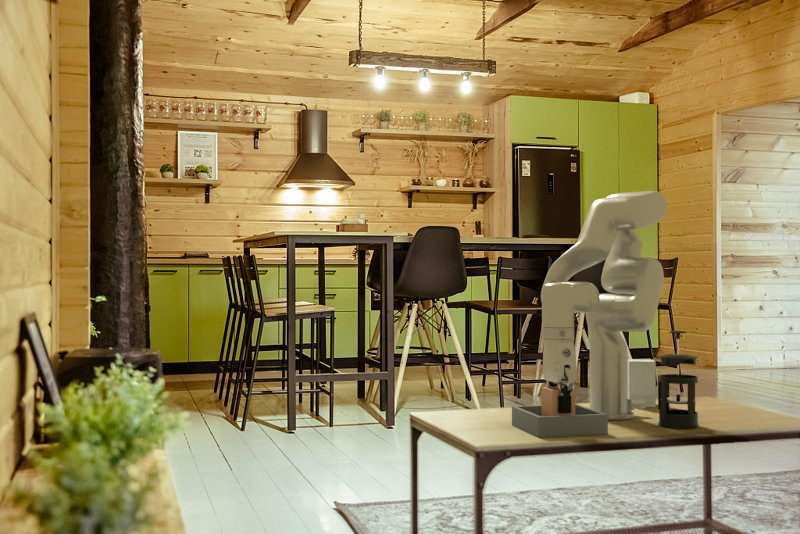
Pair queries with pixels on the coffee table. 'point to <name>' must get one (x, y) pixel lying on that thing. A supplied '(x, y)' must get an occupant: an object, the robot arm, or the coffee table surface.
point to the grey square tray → (559, 422)
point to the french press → (677, 416)
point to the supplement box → (642, 381)
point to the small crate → (554, 402)
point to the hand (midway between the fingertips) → (558, 410)
